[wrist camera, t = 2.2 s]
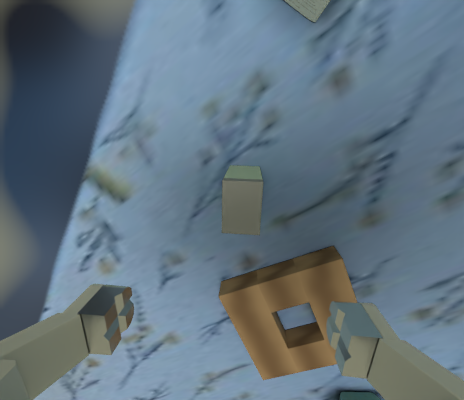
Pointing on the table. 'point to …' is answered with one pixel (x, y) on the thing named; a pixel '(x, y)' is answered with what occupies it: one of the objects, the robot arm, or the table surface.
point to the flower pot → (358, 396)
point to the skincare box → (309, 7)
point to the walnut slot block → (281, 297)
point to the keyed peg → (242, 200)
